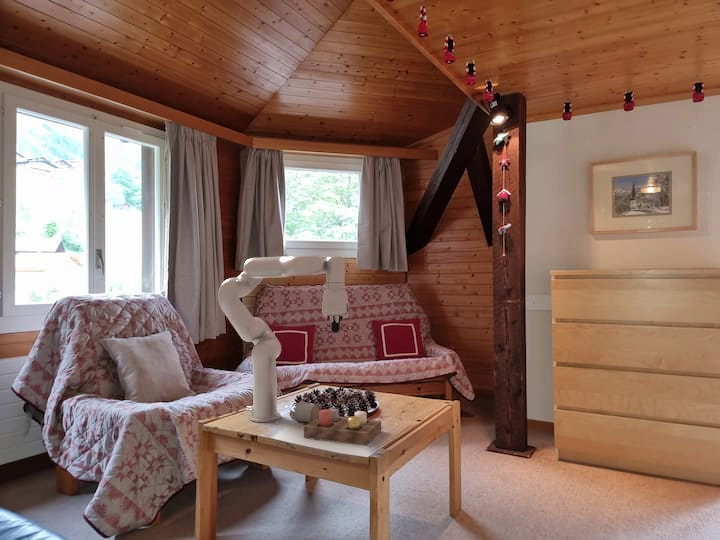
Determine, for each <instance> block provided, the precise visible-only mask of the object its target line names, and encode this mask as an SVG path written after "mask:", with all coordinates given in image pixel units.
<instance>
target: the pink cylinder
mask: <svg viewBox="0 0 720 540" xmlns="http://www.w3.org/2000/svg"><path fill="white" fill-rule="evenodd" d="M328 409H329V408H328ZM328 409H327V408H326V409H319V410H320V411H319V426H320V427H330V426H332V411H331V410H328Z"/></svg>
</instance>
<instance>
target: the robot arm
mask: <svg viewBox="0 0 720 540" xmlns="http://www.w3.org/2000/svg"><path fill="white" fill-rule="evenodd" d="M345 272H346V267H345V258H344V257H343V256H342V255H341V256H335V255H334V256H333V255H332V256H331V255H330V256H327V257H326V256H319V255H302V256H301V255H299V256H287V255H284V256H283V255H282V256H264V257H251V258H248V259H247V260H246V261H245V262H244V264H243V271H242V272H241V273H240V274H239V275H238V276H237V277H230V278H228V279H226V280H224V281H223V282H222V283H221V284H220V286H219V289H218V291H217V301H218V305H219V307H220V309H221V311H222V312H223V314H224V315H225V316H226V318H227V319H228V321H229V322H230V324H231V326H232V327H233V328H234V329H235V331H236V332H237V334H238V336H239V337H240V338H241V339H242V341H244V342H247V343H252V344H253V345H254V346H253V348H252V350H251V365H252V381H253V382H252V386H253V387H252V397H253V398H252V402H253V403H252V405H246V407H245V412H246V413H250V415H249V417H248V418H249V420H250V421H251V422H256V423H270V422H273V421H277V420H279V419H281V415H282V414H281V413H280V412H278V398H277V397H278V393H277V392H278V389H277V388H278V386H277V385H278V383H277V382H278V380H277V377H278V376H277V374H278V373H277V362H276V359H277V358H278V357H280V355H281V352H282V345H281V343H280V341H279V339H278V337H276V335H275V334H274V332H273V331H272V329H271V328H270V327H269V325H268V324H267V323H266V321H264V320H263V319H262V318H260V317H258V316H253V315H252V314H251V313H250V311H249V309H248V308H247V307H246V305H245V304H244V303H243V302H242V301H241V299H240V298H244V297H246V296H248V295H249V294H250V293H251V292H252V291H253V290H254V289H255V288H256V287H257V286H258V285H259V284H260V283H261V282H262V281H263V280H264V279H270V278H271V279H273V278H275V279H276V278H287V277H291V276H292V277H294V276H312V275H314V276H315V275H323V274H325V281H326V282H325V283H323V285H322V287H323V288H325V290H324V291H323V294H322V303H321V313H322V317H323V318H325V319H328V321H329V322H330V323H331V327H330V328H331V331H332V334H334V333H335V334H337V333H339V332H340V330H341V327H340V326H341V324H340V323H341V322H342V321H343V320H344V319H347V318H349V299H348V293H347V290H346V289H345V287H346V284H345V280H346V279H345V277H346V276H345Z"/></svg>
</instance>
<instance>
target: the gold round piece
mask: <svg viewBox="0 0 720 540" xmlns="http://www.w3.org/2000/svg"><path fill="white" fill-rule="evenodd" d="M348 430H354V431H359V430H360V417H357V416H355V415H353V416H351V415H350V416H348Z"/></svg>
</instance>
